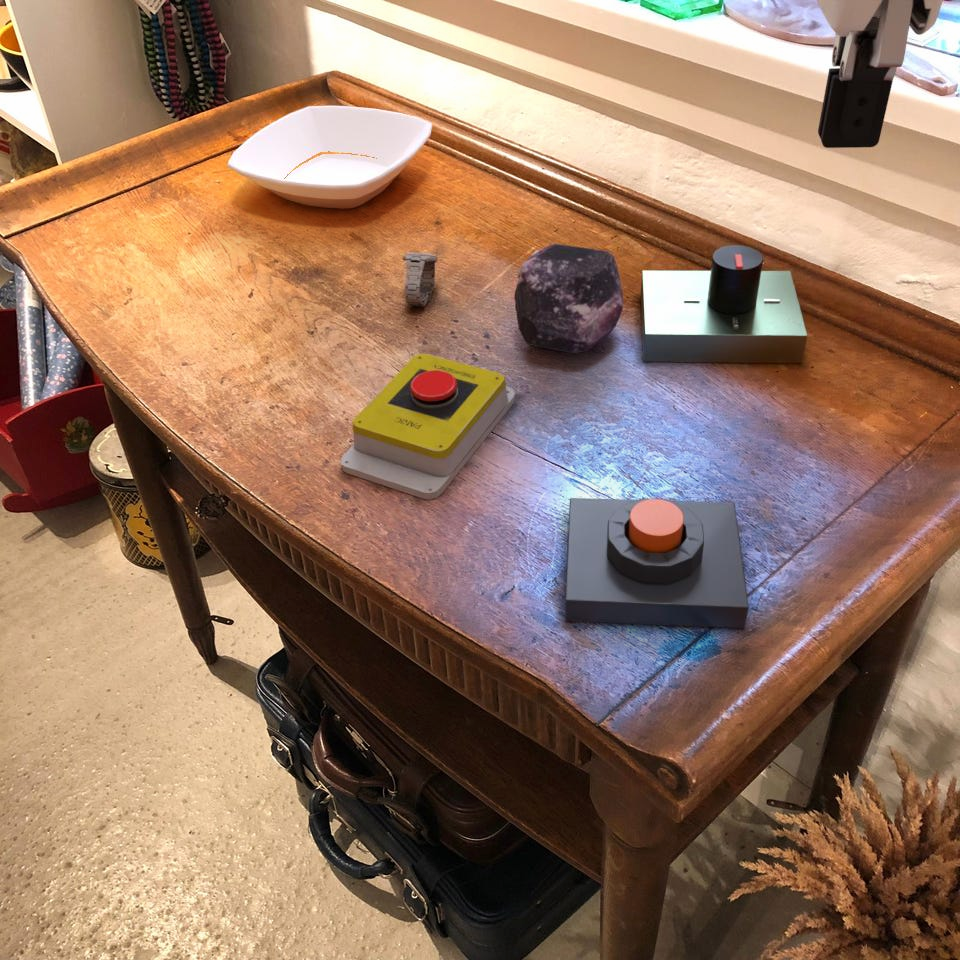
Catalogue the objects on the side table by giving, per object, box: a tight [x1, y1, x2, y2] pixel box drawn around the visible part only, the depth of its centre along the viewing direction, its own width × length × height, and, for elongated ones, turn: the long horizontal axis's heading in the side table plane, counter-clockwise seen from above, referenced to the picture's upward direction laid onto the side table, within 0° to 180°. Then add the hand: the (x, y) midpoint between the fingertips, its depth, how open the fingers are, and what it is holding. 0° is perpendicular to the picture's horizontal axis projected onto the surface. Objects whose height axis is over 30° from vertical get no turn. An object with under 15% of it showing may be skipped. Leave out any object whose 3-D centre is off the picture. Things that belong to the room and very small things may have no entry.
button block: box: [564, 497, 750, 629], centre depth 68 cm, size 12×10×4 cm
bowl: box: [226, 105, 433, 210], centre depth 117 cm, size 22×22×5 cm
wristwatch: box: [402, 252, 438, 307], centre depth 96 cm, size 4×6×5 cm, turn 168°
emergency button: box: [340, 353, 517, 500], centre depth 81 cm, size 9×4×15 cm
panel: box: [640, 270, 808, 365], centre depth 90 cm, size 14×11×3 cm
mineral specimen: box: [513, 243, 624, 354], centre depth 88 cm, size 10×10×10 cm
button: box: [629, 498, 684, 553], centre depth 66 cm, size 4×4×2 cm
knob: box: [707, 244, 764, 314], centre depth 87 cm, size 4×4×5 cm
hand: (847, 141), depth 57 cm, fingers closed
